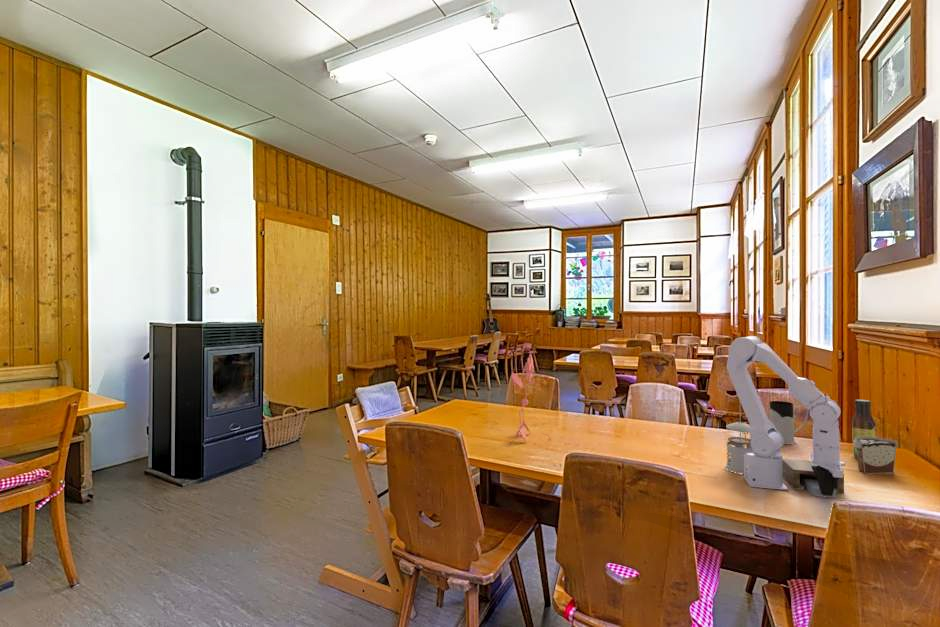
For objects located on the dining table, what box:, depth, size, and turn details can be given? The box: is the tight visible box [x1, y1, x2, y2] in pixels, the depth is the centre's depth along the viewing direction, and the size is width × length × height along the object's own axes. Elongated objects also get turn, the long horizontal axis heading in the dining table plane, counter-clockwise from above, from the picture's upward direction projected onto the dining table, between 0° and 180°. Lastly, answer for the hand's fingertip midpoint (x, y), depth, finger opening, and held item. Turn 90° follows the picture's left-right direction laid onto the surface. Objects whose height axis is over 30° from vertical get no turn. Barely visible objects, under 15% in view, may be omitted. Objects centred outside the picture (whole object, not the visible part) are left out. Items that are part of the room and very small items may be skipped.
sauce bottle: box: [851, 399, 877, 459], centre depth 153 cm, size 7×6×20 cm
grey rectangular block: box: [803, 479, 836, 498], centre depth 126 cm, size 5×7×2 cm
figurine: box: [511, 352, 536, 441], centre depth 183 cm, size 15×26×35 cm, turn 163°
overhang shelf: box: [782, 458, 845, 494], centre depth 132 cm, size 12×10×6 cm
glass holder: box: [768, 400, 809, 445], centre depth 174 cm, size 9×14×15 cm, turn 88°
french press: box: [724, 394, 753, 474], centre depth 145 cm, size 10×12×25 cm
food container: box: [852, 436, 899, 475], centre depth 142 cm, size 12×6×10 cm, turn 92°
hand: (826, 494), depth 122 cm, fingers closed
